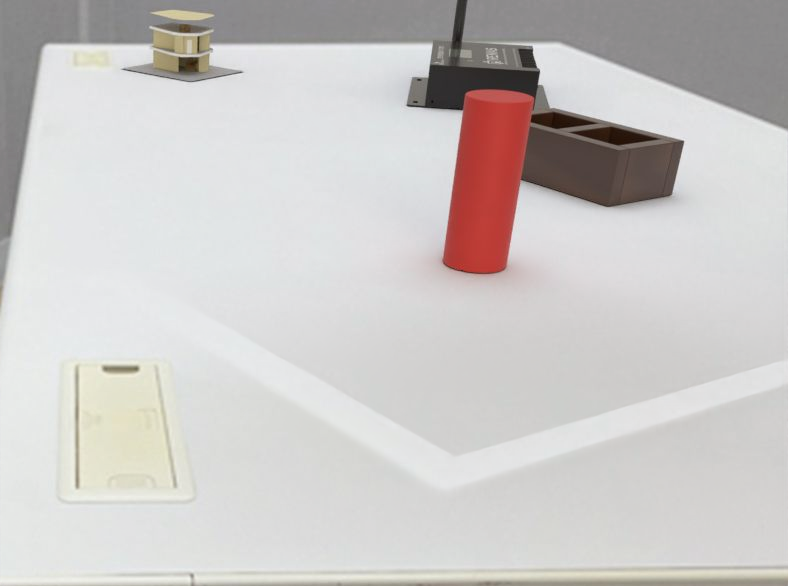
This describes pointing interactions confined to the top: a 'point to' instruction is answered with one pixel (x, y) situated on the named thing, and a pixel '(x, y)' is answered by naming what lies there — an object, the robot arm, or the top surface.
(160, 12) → the stacked layers on plate
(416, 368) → the top surface
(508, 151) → the peg
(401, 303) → the top surface
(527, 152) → the brown divided tray
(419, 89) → the wireless controller
